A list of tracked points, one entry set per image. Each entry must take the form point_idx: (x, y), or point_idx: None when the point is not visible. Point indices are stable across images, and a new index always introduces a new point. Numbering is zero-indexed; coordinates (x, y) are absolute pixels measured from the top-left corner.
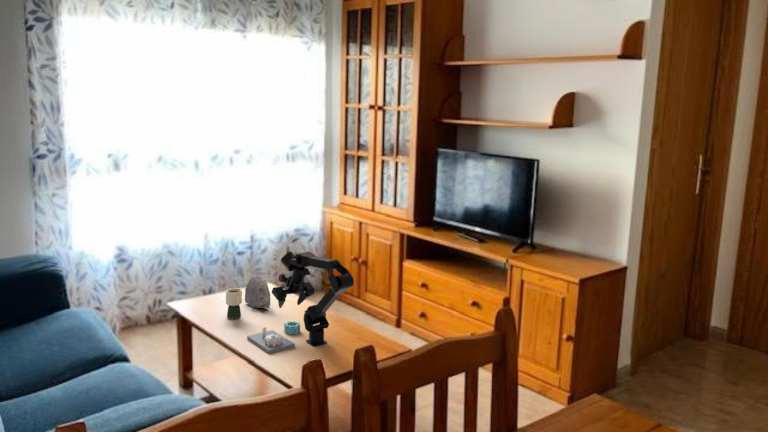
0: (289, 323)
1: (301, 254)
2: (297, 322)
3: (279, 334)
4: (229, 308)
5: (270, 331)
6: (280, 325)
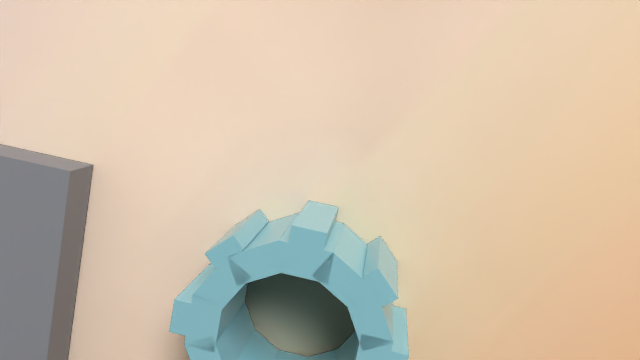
0: (296, 270)
1: None
2: (387, 357)
3: (44, 344)
4: None
5: (21, 190)
6: (344, 27)
